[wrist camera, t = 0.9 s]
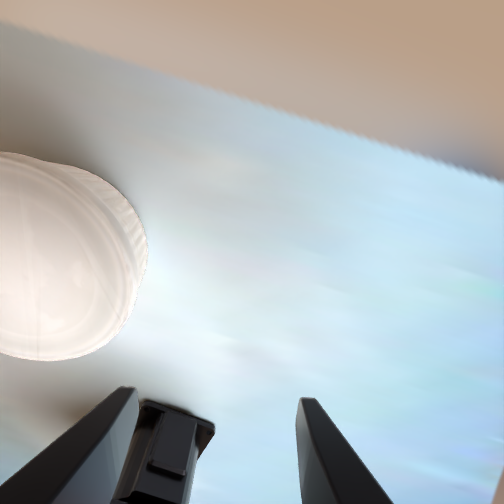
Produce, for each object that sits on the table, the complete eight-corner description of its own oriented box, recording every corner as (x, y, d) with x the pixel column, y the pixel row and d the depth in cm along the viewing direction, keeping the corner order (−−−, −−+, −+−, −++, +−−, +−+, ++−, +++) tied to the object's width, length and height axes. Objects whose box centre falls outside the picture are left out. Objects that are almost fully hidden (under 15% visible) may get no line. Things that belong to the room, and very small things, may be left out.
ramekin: (-46, 174, 18) (-164, 186, 13) (123, 127, 17) (68, 119, 12) (42, 325, 21) (-22, 379, 16) (185, 294, 20) (162, 342, 15)
